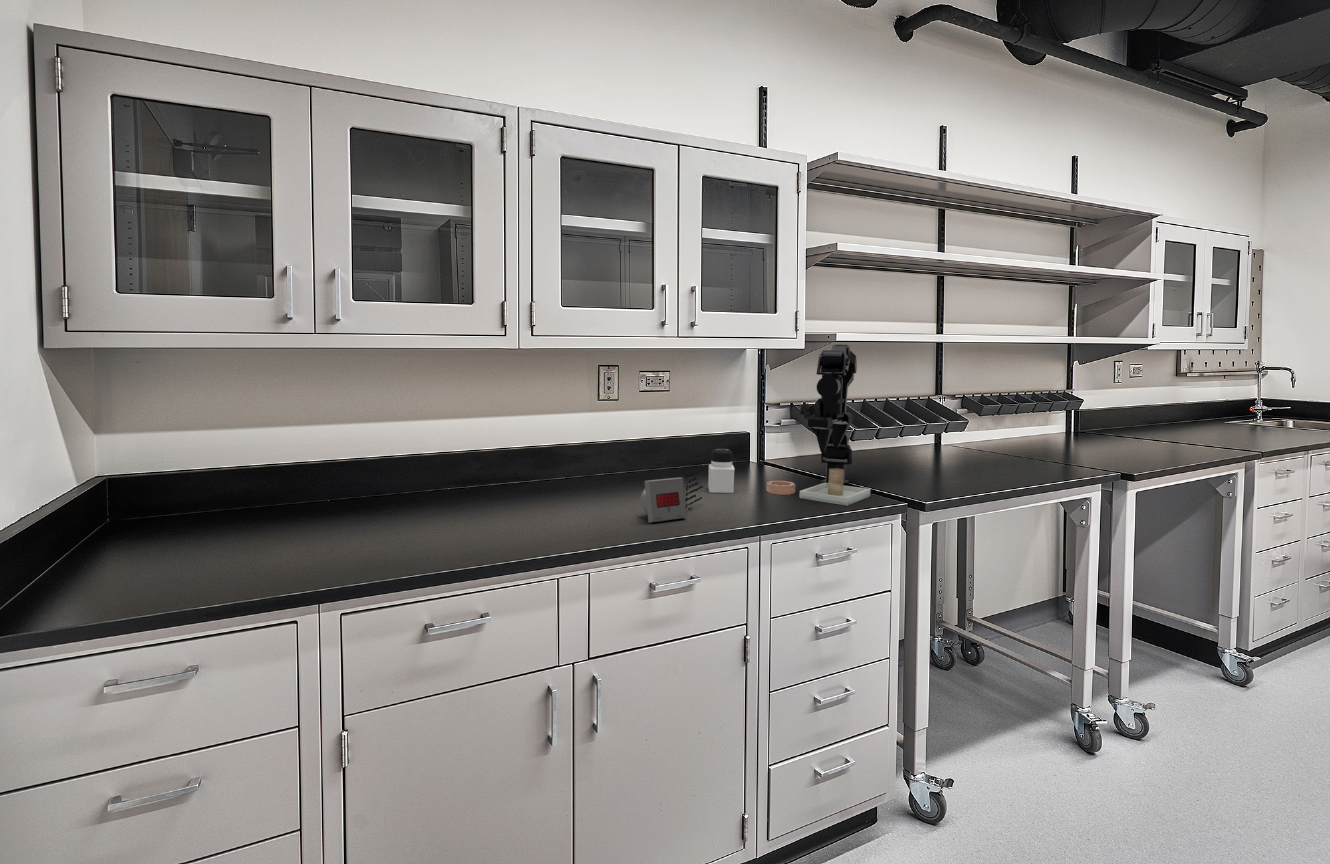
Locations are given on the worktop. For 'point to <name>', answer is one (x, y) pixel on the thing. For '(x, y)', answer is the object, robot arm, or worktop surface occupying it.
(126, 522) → the worktop surface
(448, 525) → the worktop surface
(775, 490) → the cup ring
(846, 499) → the tray
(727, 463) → the medicine bottle
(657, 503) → the voltmeter
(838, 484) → the dowel
